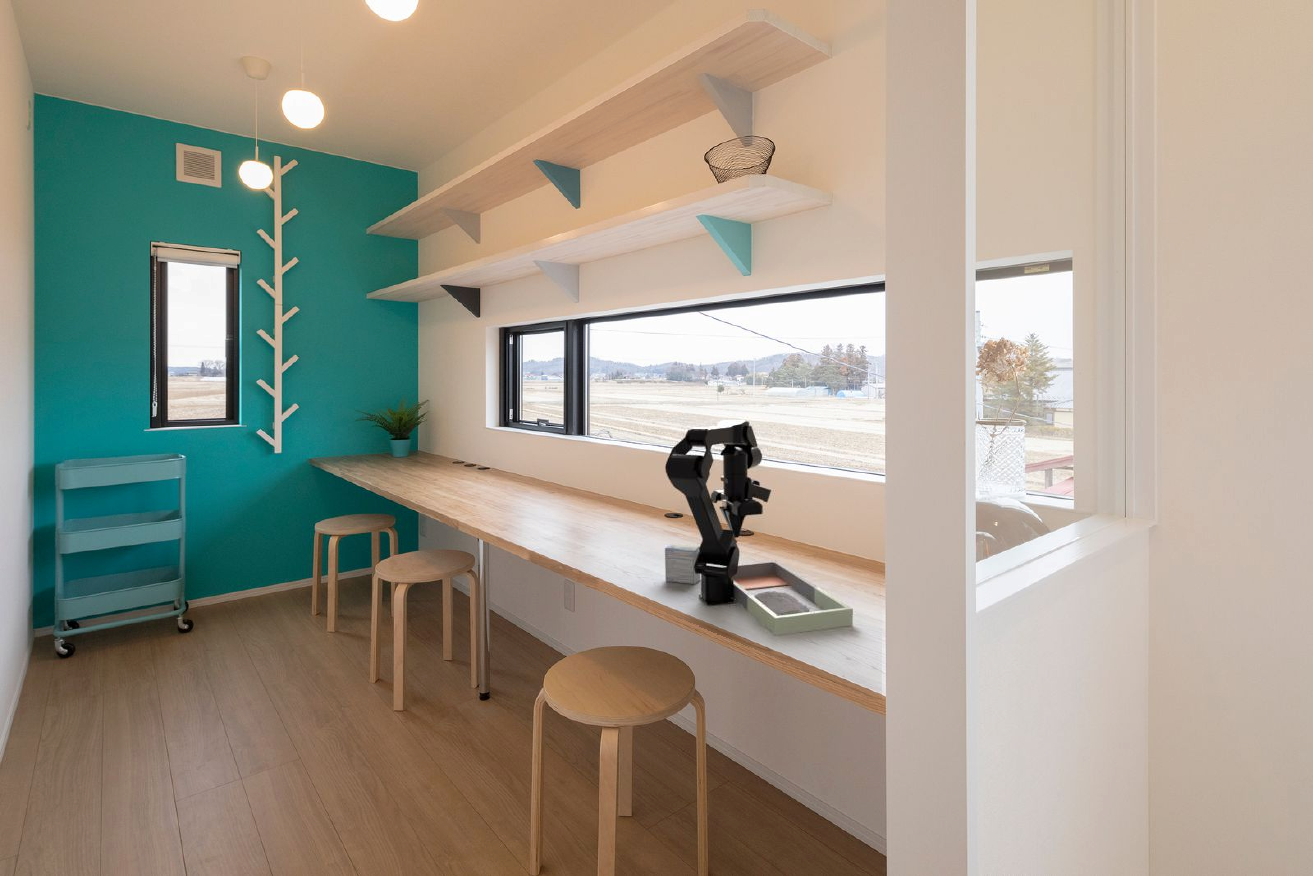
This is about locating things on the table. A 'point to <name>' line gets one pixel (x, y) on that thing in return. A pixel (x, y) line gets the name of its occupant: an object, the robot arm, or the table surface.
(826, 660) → the table surface
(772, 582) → the open tray box
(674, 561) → the medicine box
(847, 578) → the table surface
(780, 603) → the stone block
